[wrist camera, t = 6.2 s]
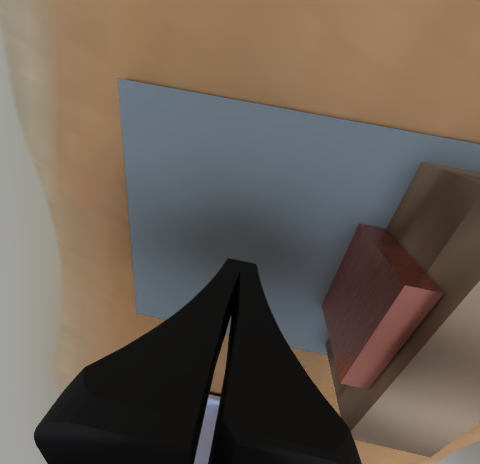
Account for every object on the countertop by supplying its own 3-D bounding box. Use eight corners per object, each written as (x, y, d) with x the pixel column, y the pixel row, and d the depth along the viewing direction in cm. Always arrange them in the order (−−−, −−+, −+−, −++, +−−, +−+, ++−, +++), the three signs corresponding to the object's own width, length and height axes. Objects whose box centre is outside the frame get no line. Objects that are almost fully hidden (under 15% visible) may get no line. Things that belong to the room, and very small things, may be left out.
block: (386, 357, 15) (430, 457, 11) (325, 344, 16) (345, 437, 11) (520, 180, 10) (729, 241, 5) (421, 161, 10) (542, 206, 5)
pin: (321, 305, 14) (340, 383, 10) (359, 223, 11) (405, 285, 7) (443, 331, 14) (511, 421, 10) (511, 253, 11) (643, 334, 7)
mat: (418, 367, 16) (423, 376, 16) (140, 306, 17) (136, 313, 16) (600, 166, 10) (619, 169, 9) (125, 79, 10) (117, 78, 10)
